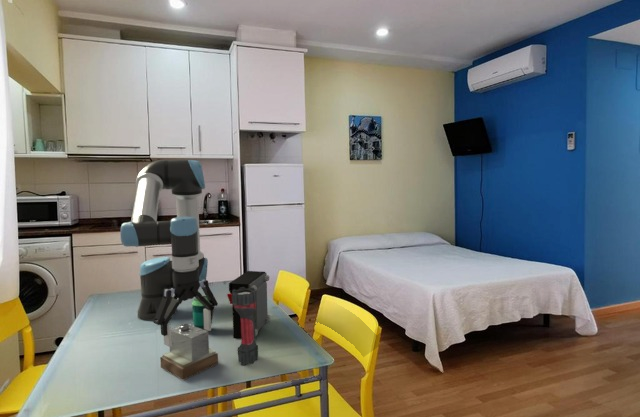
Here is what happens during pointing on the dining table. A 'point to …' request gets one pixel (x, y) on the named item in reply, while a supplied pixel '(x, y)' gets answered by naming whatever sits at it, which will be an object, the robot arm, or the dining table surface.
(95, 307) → the dining table surface
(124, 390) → the dining table surface
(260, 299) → the electrical component
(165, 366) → the stand
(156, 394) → the dining table surface
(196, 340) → the housing
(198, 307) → the cup
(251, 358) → the flashlight
